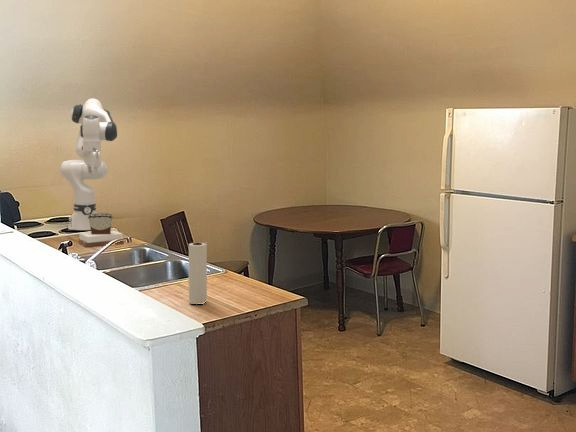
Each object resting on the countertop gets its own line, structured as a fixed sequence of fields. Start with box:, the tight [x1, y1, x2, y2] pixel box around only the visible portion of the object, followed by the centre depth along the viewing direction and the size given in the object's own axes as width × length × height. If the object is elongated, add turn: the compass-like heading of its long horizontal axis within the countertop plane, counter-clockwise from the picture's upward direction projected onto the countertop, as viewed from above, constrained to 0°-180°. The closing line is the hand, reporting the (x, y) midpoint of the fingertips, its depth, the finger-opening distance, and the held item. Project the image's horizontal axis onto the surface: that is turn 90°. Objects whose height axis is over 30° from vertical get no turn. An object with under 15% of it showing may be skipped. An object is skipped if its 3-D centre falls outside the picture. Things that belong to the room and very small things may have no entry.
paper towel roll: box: [188, 242, 208, 305], centre depth 233 cm, size 7×6×21 cm
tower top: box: [79, 229, 124, 243], centre depth 337 cm, size 12×18×3 cm, turn 126°
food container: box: [88, 212, 114, 235], centre depth 336 cm, size 12×6×10 cm, turn 97°
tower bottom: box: [78, 238, 125, 248], centre depth 338 cm, size 13×19×3 cm
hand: (92, 174), depth 344 cm, fingers open, 8 cm apart
